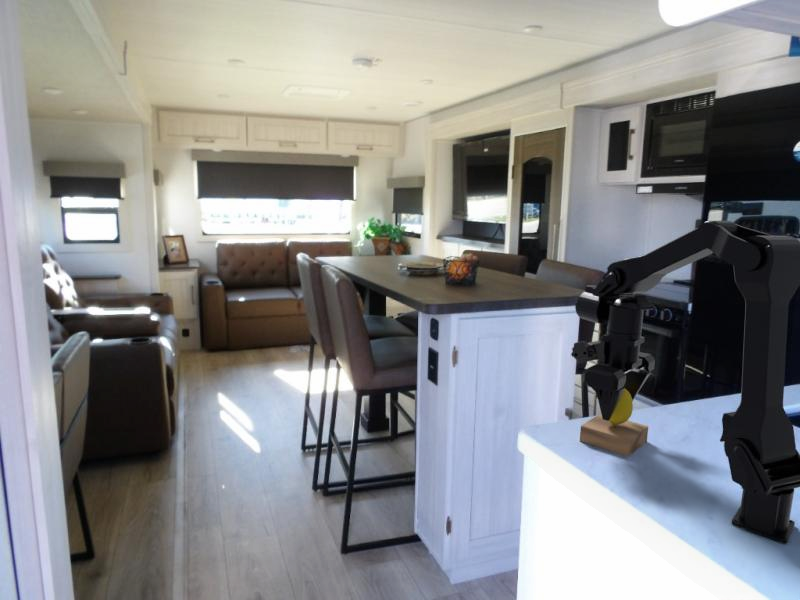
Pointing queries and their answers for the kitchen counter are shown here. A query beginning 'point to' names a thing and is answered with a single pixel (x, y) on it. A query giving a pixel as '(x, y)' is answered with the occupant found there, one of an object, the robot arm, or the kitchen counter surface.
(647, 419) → the kitchen counter surface
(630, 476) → the kitchen counter surface
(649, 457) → the kitchen counter surface
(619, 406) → the lemon
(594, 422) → the walnut block
